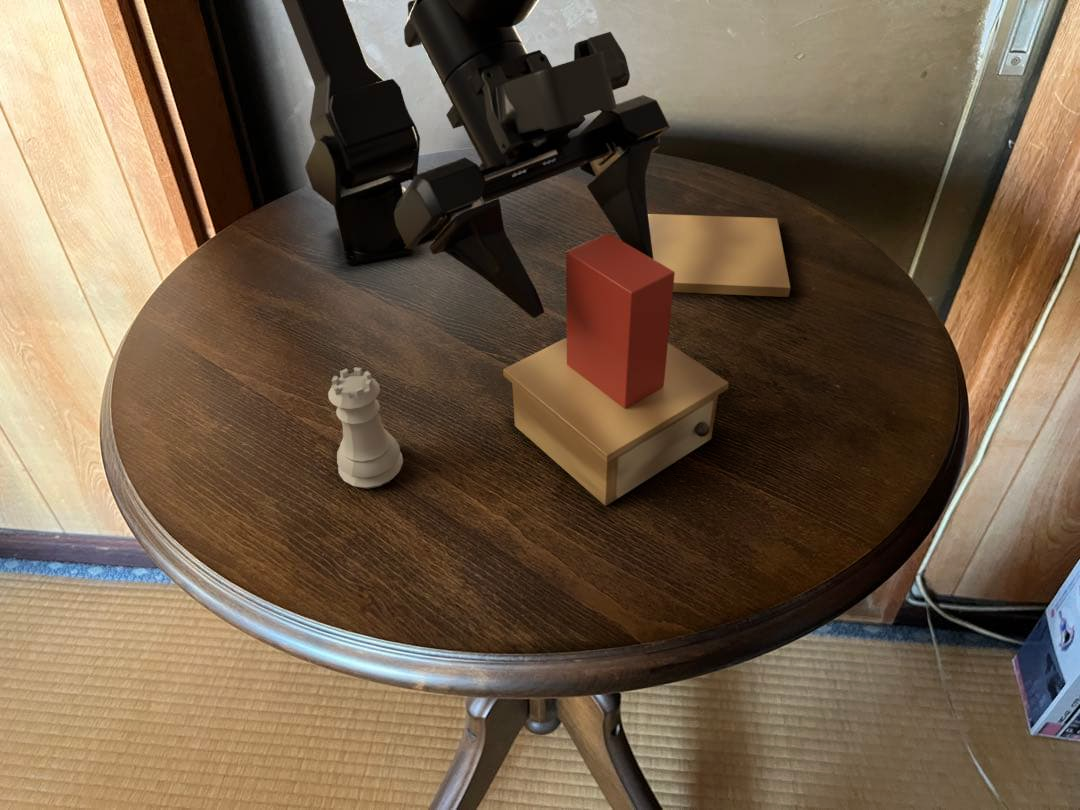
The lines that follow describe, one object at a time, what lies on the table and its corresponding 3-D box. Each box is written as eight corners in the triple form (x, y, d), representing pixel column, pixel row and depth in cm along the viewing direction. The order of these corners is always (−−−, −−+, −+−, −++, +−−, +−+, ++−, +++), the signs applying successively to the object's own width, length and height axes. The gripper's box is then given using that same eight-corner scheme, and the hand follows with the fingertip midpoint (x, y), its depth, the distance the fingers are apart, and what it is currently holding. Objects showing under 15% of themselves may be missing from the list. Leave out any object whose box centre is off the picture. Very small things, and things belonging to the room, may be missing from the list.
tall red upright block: (625, 409, 54) (631, 293, 48) (566, 364, 57) (565, 251, 51) (664, 387, 55) (675, 271, 49) (604, 344, 59) (608, 232, 53)
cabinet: (612, 519, 54) (614, 462, 50) (506, 425, 61) (502, 369, 57) (727, 445, 59) (737, 387, 55) (617, 365, 65) (620, 310, 62)
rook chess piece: (384, 499, 55) (364, 410, 50) (326, 482, 57) (301, 393, 51) (415, 454, 59) (399, 366, 53) (360, 439, 60) (339, 351, 55)
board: (637, 290, 73) (638, 281, 72) (640, 222, 82) (641, 213, 81) (788, 297, 72) (790, 287, 71) (775, 227, 81) (777, 218, 80)
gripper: (389, 28, 42) (531, 308, 42) (659, -41, 50) (775, 193, 51) (343, 132, 52) (459, 357, 52) (575, 60, 60) (673, 254, 60)
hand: (595, 288), depth 54 cm, fingers open, 9 cm apart
